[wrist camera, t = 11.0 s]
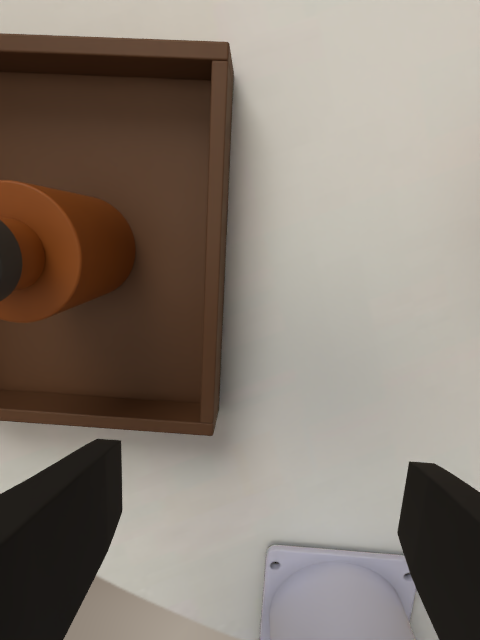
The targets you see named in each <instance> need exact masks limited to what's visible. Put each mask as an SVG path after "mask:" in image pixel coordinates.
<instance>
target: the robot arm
mask: <svg viewBox="0 0 480 640" xmlns="http://www.w3.org/2000/svg"><path fill="white" fill-rule="evenodd" d="M121 513H122V463H121V441H119V440H105V439H96V440H94V441H92V442H90V443H89V444H87V445H85V446H83V447H81V448H80V449H78V450H76V451H75V452H73V453H71V454H70V455H68V456H66V457H65V458H63V459H61V460H60V461H58V462H56V463H55V464H53V465H51V466H49V467H48V468H46V469H44V470H43V471H41V472H39V473H38V474H36V475H34V476H33V477H31V478H29V479H27V480H26V481H24V482H22V483H20V484H18V485H16V486H15V487H13V488H11V489H9V490H7V491H5V492H3V493H2V494H0V640H63V639H64V637H65V635H66V633H67V631H68V629H69V627H70V625H71V623H72V621H73V619H74V617H75V615H76V613H77V612H78V609H79V608H80V606H81V604H82V601H83V600H84V598H85V596H86V594H87V592H88V590H89V588H90V586H91V584H92V582H93V580H94V578H95V576H96V574H97V572H98V570H99V568H100V566H101V564H102V562H103V560H104V558H105V556H106V554H107V552H108V549H109V547H110V544H111V541H112V539H113V536H114V533H115V530H116V528H117V525H118V522H119V519H120V516H121ZM398 536H399V540H400V543H401V546H402V550H403V553H404V555H396V554H383V553H371V552H359V551H347V550H334V549H322V548H310V547H298V546H285V545H272V546H270V547H269V548H268V549H267V551H266V562H265V575H264V587H263V599H262V612H261V624H260V637H259V640H416V639H415V636H414V634H413V631H412V629H411V626H410V619H411V614H412V608H413V603H414V598H415V592H416V589H417V591H418V593H419V596H420V598H421V600H422V602H423V605H424V607H425V609H426V611H427V613H428V616H429V618H430V620H431V622H432V624H433V627H434V629H435V631H436V633H437V635H438V638H439V640H480V492H478V491H477V490H475V489H474V488H472V487H471V486H470V485H468V484H467V483H465V482H464V481H462V480H461V479H459V478H458V477H456V476H454V475H453V474H451V473H450V472H448V471H447V470H445V469H443V468H442V467H440V466H438V465H436V464H434V463H421V462H409V466H408V472H407V478H406V484H405V490H404V496H403V502H402V509H401V515H400V521H399V527H398ZM272 562H278V563H277V564H273V563H272ZM407 573H410V574H408V575H405V574H407Z"/></svg>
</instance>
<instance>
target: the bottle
mask: <svg viewBox="0 0 480 640" xmlns="http://www.w3.org/2000/svg"><path fill="white" fill-rule="evenodd" d="M135 251H136V250H135V241H134V236H133V233H132V230H131V228H130V226H129V224H128V223H127V221H126V219H125V218H124V217H123V216H122V214H121V213H120V212H119V211H118V210H117V209H116V208H114V207H113V206H112V205H110V204H109V203H107V202H105V201H103V200H101V199H98V198H94V197H90V196H86V195H81V194H76V193H71V192H67V191H62V190H57V189H52V188H48V187H43V186H38V185H33V184H29V183H24V182H19V181H12V180H0V319H1V320H5V321H9V322H15V323H30V322H36V321H40V320H43V319H46V318H48V317H51V316H53V315H56V314H58V313H61V312H63V311H66V310H68V309H71V308H73V307H76V306H78V305H80V304H83V303H85V302H88V301H90V300H93V299H95V298H98V297H100V296H103V295H105V294H107V293H110V292H112V291H114V290H115V289H117V288H118V287H119V286H120V285H122V284H123V282H124V281H125V280H126V279H127V277H128V276H129V274H130V272H131V270H132V268H133V265H134V260H135Z"/></svg>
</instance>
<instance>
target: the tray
mask: <svg viewBox="0 0 480 640" xmlns="http://www.w3.org/2000/svg"><path fill="white" fill-rule="evenodd" d="M233 76H234V71H233V65H232V59H231V52H230V46H229V43H228V42H213V41H186V40H159V39H132V38H106V37H79V36H52V35H26V34H0V180H12V181H19V182H24V183H29V184H33V185H38V186H43V187H48V188H52V189H57V190H62V191H67V192H71V193H76V194H81V195H86V196H90V197H94V198H98V199H101V200H103V201H105V202H107V203H109V204H110V205H112V206H113V207H114V208H116V209H117V210H118V211H119V212H120V213H121V214H122V216H123V217H124V218H125V219H126V221H127V223H128V224H129V226H130V228H131V230H132V233H133V236H134V241H135V250H136V251H135V260H134V265H133V268H132V270H131V272H130V274H129V276H128V277H127V279H126V280H125V281H124V282H123V284H122V285H120V286H119V287H118V288H117V289H115V290H114V291H112V292H110V293H107V294H105V295H103V296H100V297H98V298H95V299H93V300H90V301H88V302H85V303H83V304H80V305H78V306H76V307H73V308H71V309H68V310H66V311H63V312H61V313H58V314H56V315H53V316H51V317H48V318H46V319H43V320H40V321H36V322H30V323H15V322H9V321H5V320H1V319H0V421H13V422H27V423H41V424H55V425H69V426H82V427H96V428H110V429H124V430H138V431H151V432H165V433H179V434H193V435H207V436H212V435H213V433H214V429H215V424H216V420H217V415H218V411H219V394H220V371H221V349H222V326H223V303H224V281H225V258H226V235H227V213H228V190H229V167H230V144H231V122H232V99H233Z"/></svg>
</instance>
